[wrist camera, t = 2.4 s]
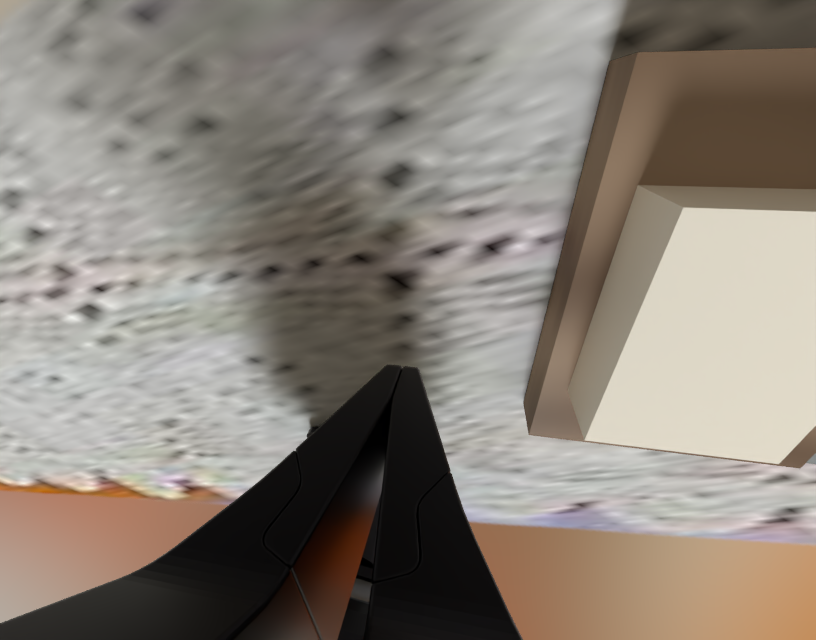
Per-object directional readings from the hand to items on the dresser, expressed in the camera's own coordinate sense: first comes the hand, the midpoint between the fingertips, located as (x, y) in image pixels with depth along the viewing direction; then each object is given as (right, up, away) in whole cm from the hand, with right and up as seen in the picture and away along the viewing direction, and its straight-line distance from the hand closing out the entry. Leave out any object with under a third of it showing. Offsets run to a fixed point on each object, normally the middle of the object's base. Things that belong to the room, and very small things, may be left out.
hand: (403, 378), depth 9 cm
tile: (+10, +2, +2) cm, 10 cm away
